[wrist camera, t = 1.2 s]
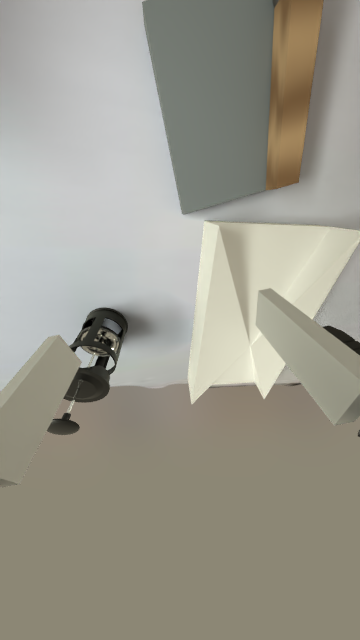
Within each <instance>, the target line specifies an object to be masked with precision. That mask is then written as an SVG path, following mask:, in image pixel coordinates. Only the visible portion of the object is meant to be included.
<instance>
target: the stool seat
mask: <svg viewBox="0 0 360 640" xmlns="http://www.w3.org/2000/svg"><path fill="white" fill-rule="evenodd" d="M142 5H143V15H144V25H145V30H146V35H147V40H148V45H149V50H150V55H151V60H152V65H153V70H154V75H155V80H156V85H157V90H158V95H159V100H160V105H161V110H162V115H163V120H164V125H165V130H166V135H167V140H168V145H169V150H170V155H171V160H172V165H173V170H174V175H175V180H176V185H177V190H178V195H179V200H180V205H181V210H182V214H187V213H191V212H194V211H197V210H201V209H204V208H207V207H211V206H214V205H218V204H221V203H224V202H228V201H231V200H234V199H238V198H241V197H244V196H248V195H251V194H255V193H258V192H261V191H265V190H266V172H267V152H268V131H269V110H270V89H271V68H272V48H273V27H274V5H273V0H146V1H144V2H142Z"/></svg>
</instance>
